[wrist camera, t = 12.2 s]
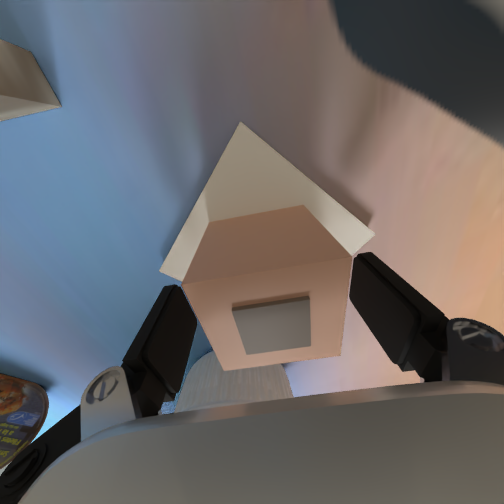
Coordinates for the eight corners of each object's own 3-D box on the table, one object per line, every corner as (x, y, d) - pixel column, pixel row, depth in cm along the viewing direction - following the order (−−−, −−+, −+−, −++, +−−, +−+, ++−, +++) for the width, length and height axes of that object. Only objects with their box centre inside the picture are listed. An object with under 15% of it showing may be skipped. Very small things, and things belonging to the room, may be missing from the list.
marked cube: (306, 279, 14) (342, 359, 9) (231, 291, 15) (223, 375, 9) (303, 204, 11) (355, 259, 6) (208, 222, 12) (179, 288, 6)
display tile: (274, 315, 18) (275, 323, 17) (164, 263, 14) (158, 271, 14) (367, 228, 13) (375, 234, 13) (240, 123, 10) (240, 121, 9)
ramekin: (267, 399, 27) (273, 470, 21) (176, 388, 25) (155, 466, 19) (309, 348, 21) (334, 429, 15) (193, 327, 19) (169, 415, 13)
